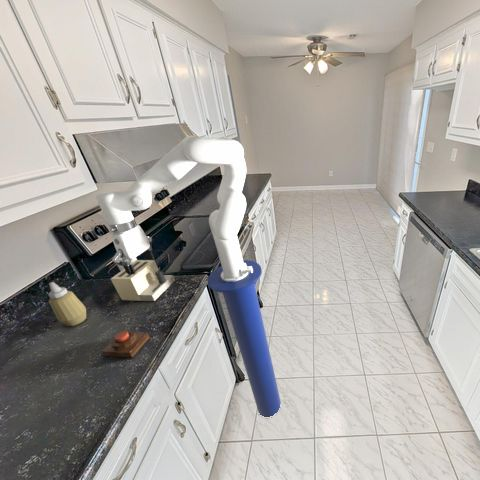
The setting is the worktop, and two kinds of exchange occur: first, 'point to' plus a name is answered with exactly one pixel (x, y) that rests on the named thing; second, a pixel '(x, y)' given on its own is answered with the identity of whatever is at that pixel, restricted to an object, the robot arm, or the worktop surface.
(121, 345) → the base
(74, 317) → the squeeze bottle
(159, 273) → the toaster slider
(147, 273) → the toaster
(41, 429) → the worktop surface
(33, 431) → the worktop surface
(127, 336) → the timer button
